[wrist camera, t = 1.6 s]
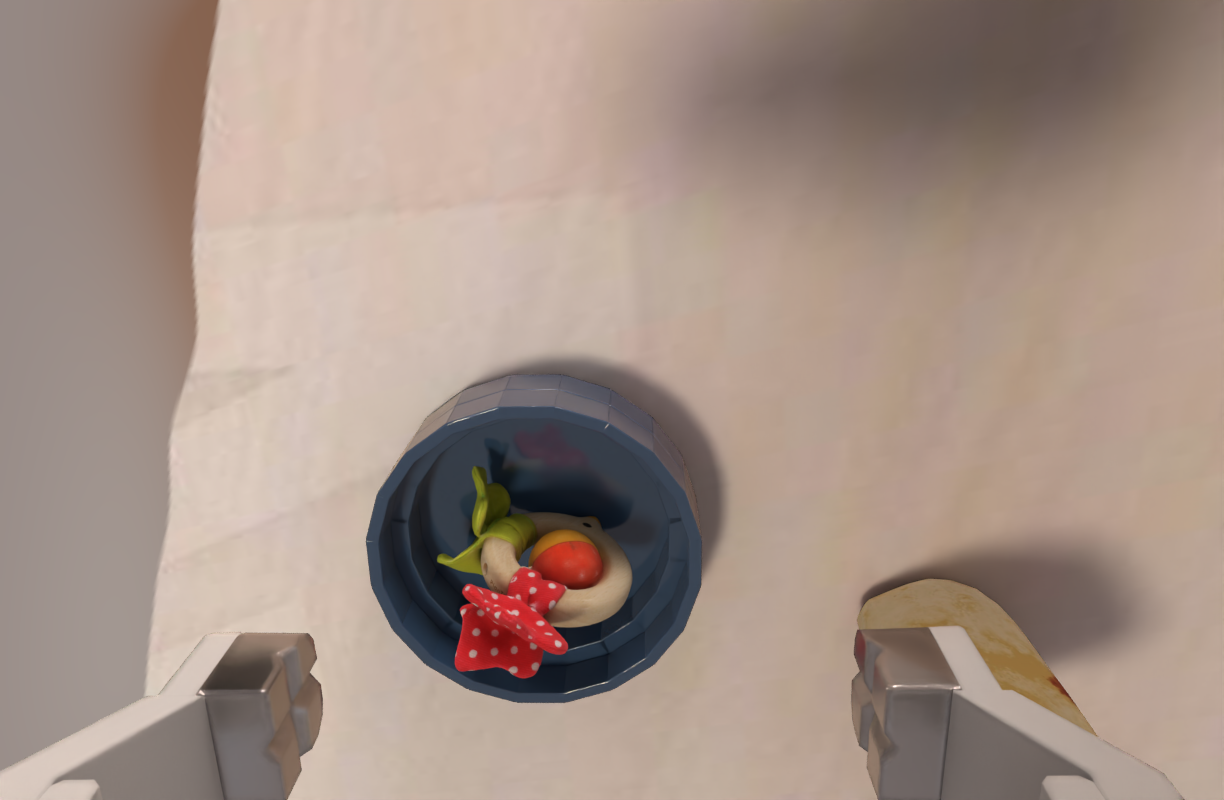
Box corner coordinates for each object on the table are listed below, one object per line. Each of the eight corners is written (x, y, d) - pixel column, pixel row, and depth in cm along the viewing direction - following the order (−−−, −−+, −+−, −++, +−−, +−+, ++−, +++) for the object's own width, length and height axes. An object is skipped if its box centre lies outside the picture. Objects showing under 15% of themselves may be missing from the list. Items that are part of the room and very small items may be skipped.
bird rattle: (598, 452, 49) (425, 456, 45) (693, 564, 39) (484, 580, 36) (580, 556, 51) (415, 568, 47) (667, 686, 41) (467, 713, 38)
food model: (825, 642, 50) (938, 986, 31) (883, 540, 48) (1042, 845, 29) (985, 702, 51) (1187, 1070, 32) (1049, 605, 49) (1305, 938, 30)
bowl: (379, 372, 46) (349, 407, 41) (697, 370, 45) (704, 405, 41) (407, 644, 51) (384, 702, 46) (693, 644, 50) (699, 703, 46)
